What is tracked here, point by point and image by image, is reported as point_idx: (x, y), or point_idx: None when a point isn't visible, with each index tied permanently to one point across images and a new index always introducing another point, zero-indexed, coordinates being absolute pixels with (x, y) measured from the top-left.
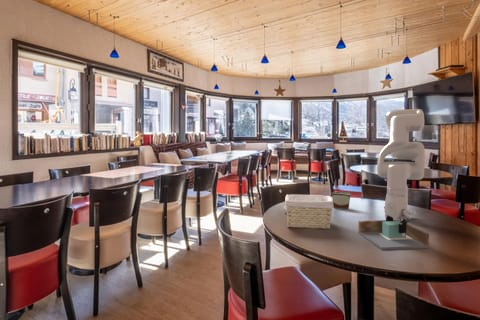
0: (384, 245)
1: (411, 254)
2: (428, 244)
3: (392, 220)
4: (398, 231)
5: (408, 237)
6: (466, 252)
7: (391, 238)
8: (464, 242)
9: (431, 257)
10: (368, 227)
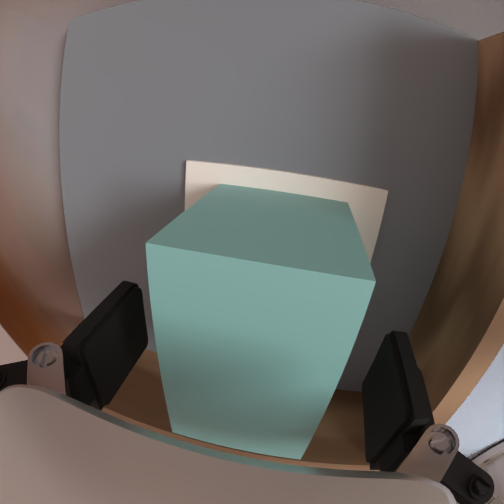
0: (88, 54)
1: (20, 177)
2: None
3: (367, 433)
4: (129, 288)
5: None
6: None
7: None
8: None
9: (8, 246)
10: (497, 137)
